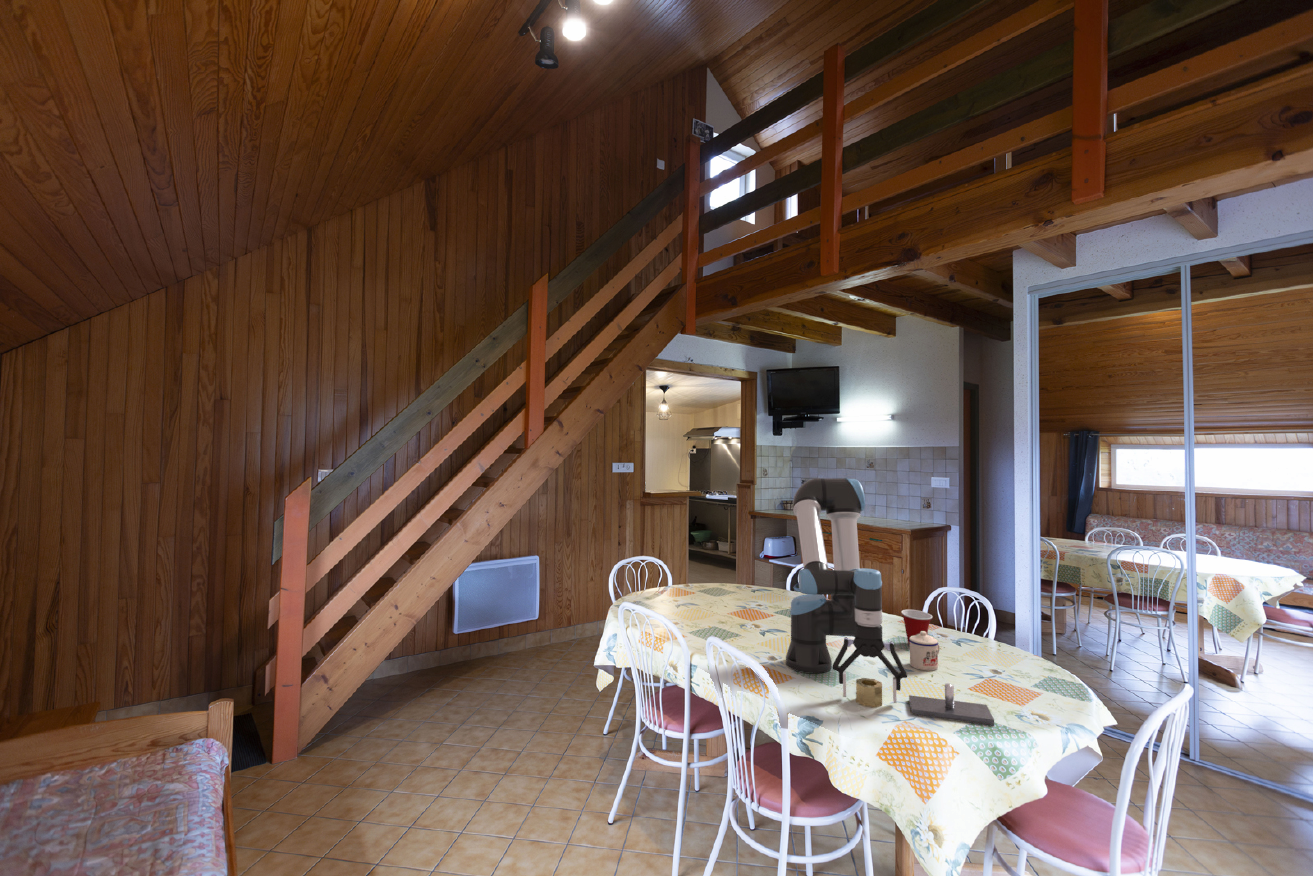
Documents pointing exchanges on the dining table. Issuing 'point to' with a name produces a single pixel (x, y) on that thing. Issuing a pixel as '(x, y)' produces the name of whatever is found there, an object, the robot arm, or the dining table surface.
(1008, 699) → the dining table surface
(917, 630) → the plastic cup
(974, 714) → the shaft stand
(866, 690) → the ring
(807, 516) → the robot arm
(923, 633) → the teacup with lid
